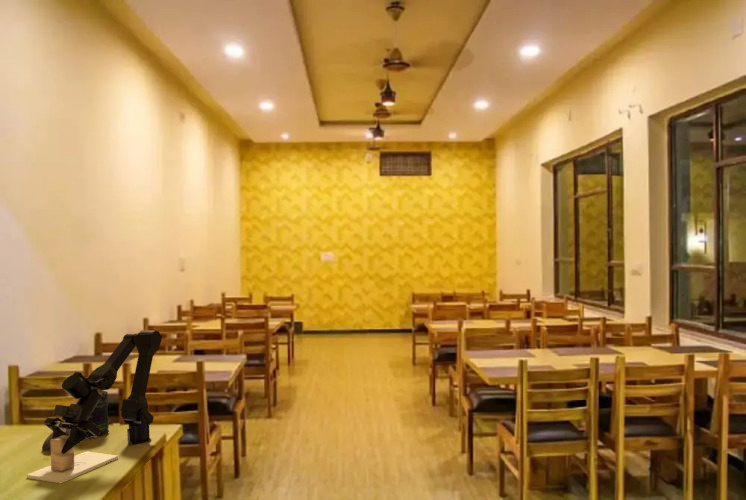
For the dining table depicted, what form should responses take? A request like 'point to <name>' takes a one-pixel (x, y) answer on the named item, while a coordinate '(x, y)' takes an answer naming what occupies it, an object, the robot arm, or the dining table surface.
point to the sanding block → (61, 455)
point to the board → (81, 466)
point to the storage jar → (101, 415)
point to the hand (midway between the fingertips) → (56, 452)
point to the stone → (47, 442)
